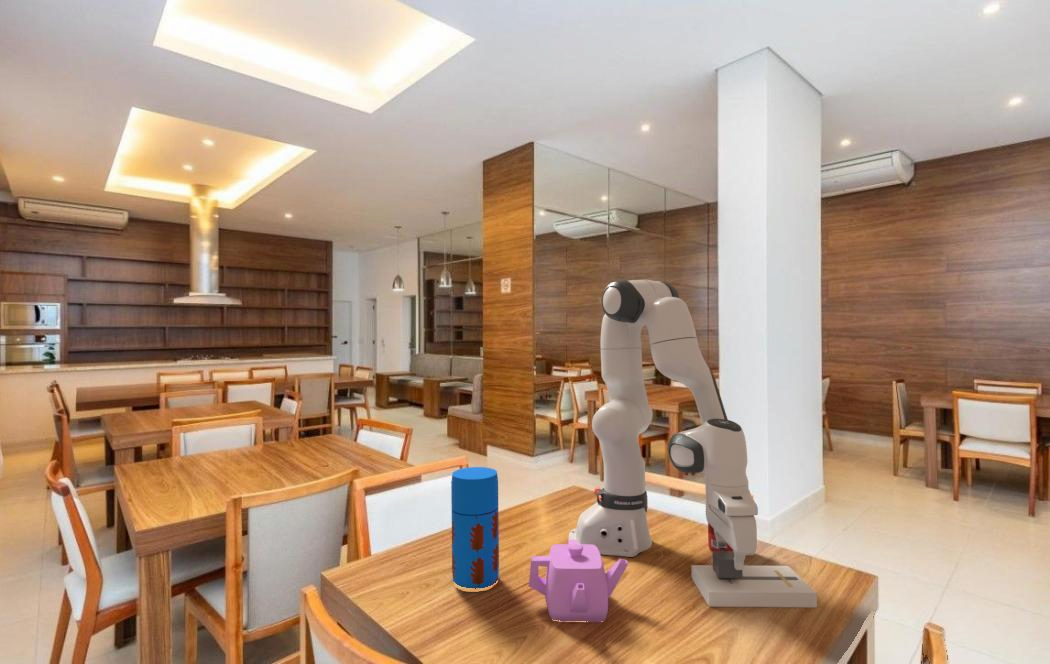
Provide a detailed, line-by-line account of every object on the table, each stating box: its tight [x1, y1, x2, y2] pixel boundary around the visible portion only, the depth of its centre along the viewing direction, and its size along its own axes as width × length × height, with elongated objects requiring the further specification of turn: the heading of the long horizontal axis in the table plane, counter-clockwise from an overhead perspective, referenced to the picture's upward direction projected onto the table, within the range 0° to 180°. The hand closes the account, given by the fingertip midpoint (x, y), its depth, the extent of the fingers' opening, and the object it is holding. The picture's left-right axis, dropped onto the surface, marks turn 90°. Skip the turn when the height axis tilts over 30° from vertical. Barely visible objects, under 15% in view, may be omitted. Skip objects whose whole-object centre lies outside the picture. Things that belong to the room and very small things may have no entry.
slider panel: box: [691, 564, 818, 608], centre depth 109 cm, size 22×12×3 cm, turn 88°
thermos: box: [450, 466, 500, 589], centre depth 115 cm, size 11×11×25 cm
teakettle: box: [528, 538, 629, 623], centre depth 104 cm, size 17×17×12 cm
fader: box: [711, 551, 743, 578], centre depth 109 cm, size 5×4×5 cm
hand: (729, 558), depth 108 cm, fingers open, 8 cm apart
